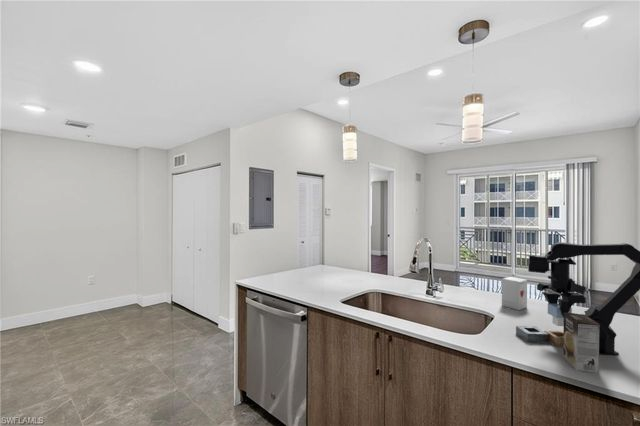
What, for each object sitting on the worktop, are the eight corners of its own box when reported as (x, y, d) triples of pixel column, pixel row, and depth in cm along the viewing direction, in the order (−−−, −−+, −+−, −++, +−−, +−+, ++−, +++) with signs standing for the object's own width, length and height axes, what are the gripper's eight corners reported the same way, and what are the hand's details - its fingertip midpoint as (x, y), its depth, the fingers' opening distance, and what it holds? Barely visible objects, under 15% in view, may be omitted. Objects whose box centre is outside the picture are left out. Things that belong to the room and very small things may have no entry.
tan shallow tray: (575, 347, 115) (575, 338, 115) (556, 346, 116) (556, 338, 115) (562, 339, 122) (562, 331, 122) (544, 338, 123) (544, 330, 122)
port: (548, 342, 119) (548, 334, 119) (527, 342, 120) (527, 333, 120) (535, 334, 127) (535, 326, 127) (516, 333, 128) (516, 325, 128)
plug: (571, 327, 116) (571, 307, 116) (556, 326, 116) (556, 307, 116) (561, 322, 121) (562, 303, 121) (547, 321, 121) (547, 303, 121)
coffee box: (562, 357, 107) (562, 312, 107) (584, 359, 106) (584, 313, 105) (575, 370, 99) (575, 321, 98) (599, 373, 97) (600, 323, 97)
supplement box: (519, 310, 156) (519, 281, 156) (501, 306, 163) (501, 278, 163) (527, 307, 161) (527, 279, 161) (509, 303, 168) (509, 276, 168)
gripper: (602, 280, 108) (601, 323, 109) (564, 270, 127) (563, 306, 127) (569, 280, 109) (568, 323, 110) (536, 269, 128) (535, 306, 128)
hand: (559, 314), depth 119 cm, fingers closed on plug, 5 cm apart
